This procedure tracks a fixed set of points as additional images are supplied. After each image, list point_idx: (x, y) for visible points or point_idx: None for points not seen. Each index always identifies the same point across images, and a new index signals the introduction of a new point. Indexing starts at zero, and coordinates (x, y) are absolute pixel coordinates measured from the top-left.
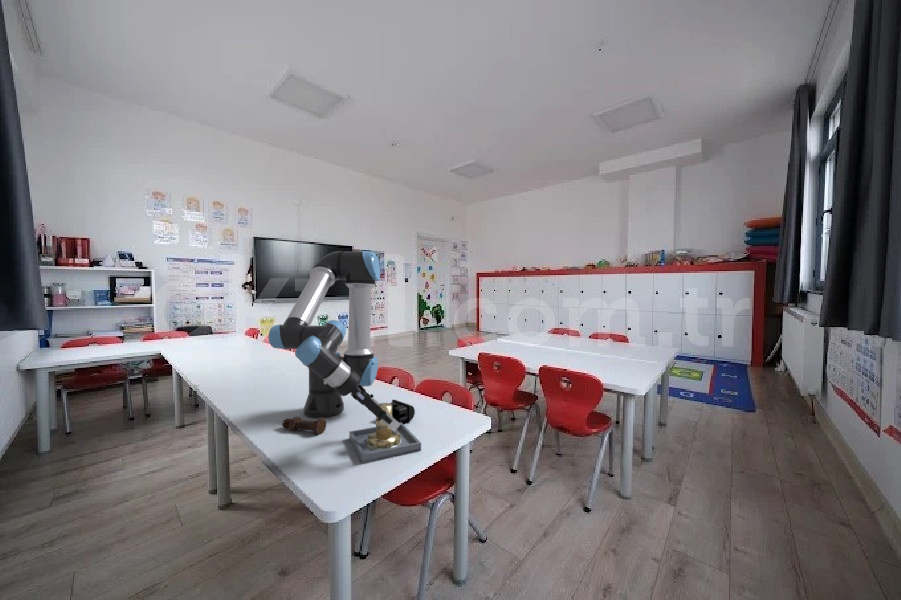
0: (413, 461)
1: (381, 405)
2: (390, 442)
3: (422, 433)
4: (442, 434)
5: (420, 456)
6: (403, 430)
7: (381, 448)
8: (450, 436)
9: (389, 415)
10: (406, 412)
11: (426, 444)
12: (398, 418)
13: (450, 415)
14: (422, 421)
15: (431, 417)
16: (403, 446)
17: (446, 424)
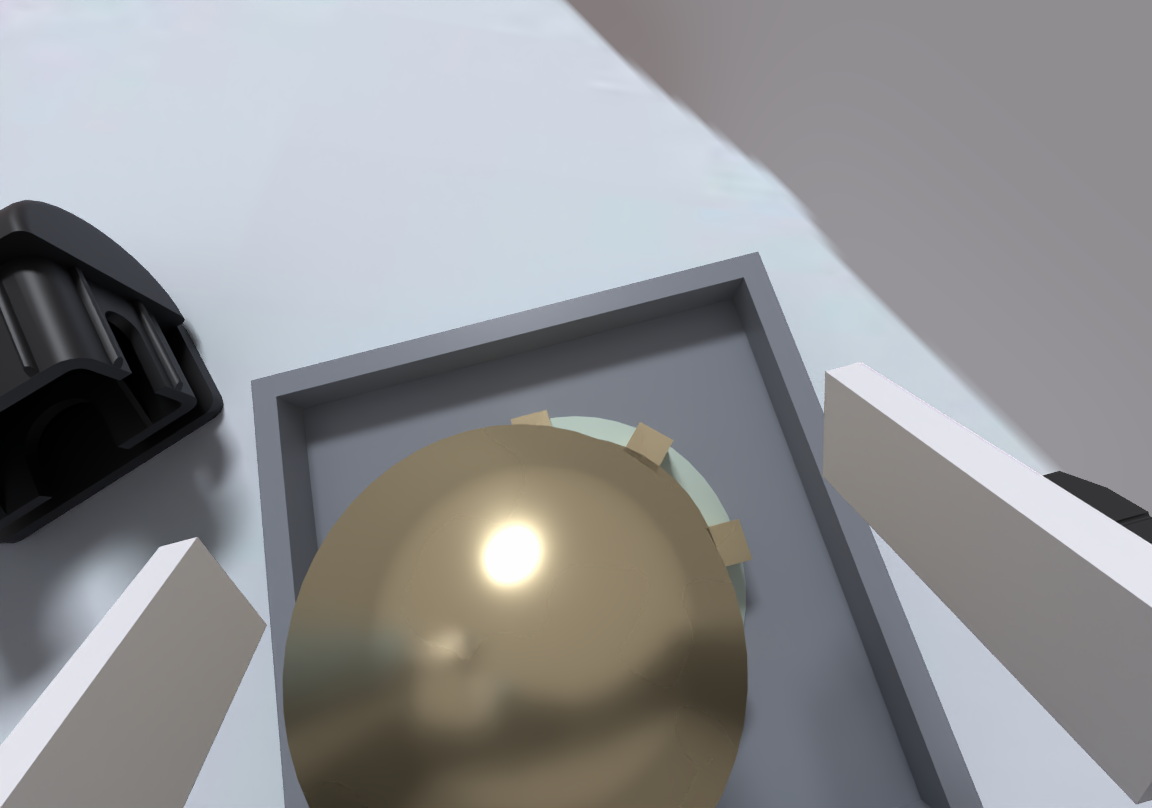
0: (910, 357)
1: (486, 738)
2: (703, 521)
3: (436, 242)
4: (494, 112)
5: (833, 300)
6: (394, 379)
7: None
8: (541, 69)
9: (1109, 530)
10: (96, 298)
11: (640, 236)
12: (106, 403)
13: (172, 15)
14: (200, 216)
15: (149, 142)
16: (816, 404)
17: (327, 63)
